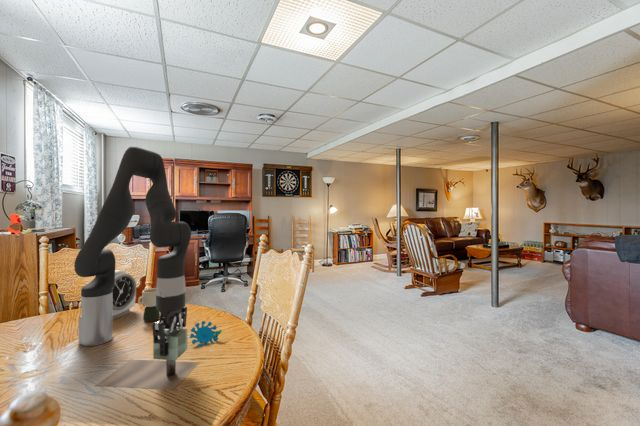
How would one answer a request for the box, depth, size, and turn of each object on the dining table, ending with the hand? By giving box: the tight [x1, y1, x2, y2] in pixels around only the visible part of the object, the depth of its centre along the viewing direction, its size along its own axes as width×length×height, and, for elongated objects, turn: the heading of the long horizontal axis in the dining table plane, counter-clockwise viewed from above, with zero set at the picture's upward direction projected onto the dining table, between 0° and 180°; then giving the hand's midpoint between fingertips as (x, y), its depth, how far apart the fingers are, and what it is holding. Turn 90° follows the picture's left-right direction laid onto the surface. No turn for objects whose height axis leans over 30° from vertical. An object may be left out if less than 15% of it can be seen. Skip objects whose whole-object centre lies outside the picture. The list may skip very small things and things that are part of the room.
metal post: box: [165, 359, 177, 377], centre depth 87 cm, size 2×2×8 cm
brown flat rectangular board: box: [95, 359, 200, 391], centre depth 88 cm, size 22×14×1 cm, turn 86°
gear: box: [189, 320, 223, 348], centre depth 110 cm, size 11×6×10 cm
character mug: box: [137, 287, 161, 322], centre depth 131 cm, size 11×7×13 cm, turn 145°
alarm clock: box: [113, 269, 137, 320], centre depth 135 cm, size 18×8×20 cm, turn 170°
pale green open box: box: [152, 328, 188, 361], centre depth 87 cm, size 6×6×6 cm
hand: (171, 349), depth 87 cm, fingers closed on pale green open box, 6 cm apart
